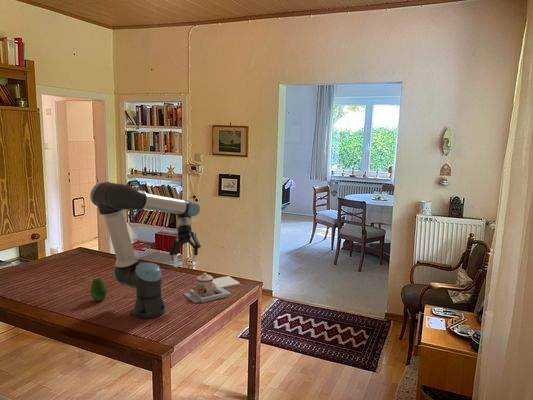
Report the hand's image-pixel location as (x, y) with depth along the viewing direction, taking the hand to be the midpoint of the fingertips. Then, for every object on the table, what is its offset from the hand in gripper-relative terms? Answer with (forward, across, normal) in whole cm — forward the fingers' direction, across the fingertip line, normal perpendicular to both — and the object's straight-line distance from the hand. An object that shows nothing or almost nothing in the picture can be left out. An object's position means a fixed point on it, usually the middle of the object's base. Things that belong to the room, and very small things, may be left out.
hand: (184, 264), depth 213 cm
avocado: (+14, +40, +21) cm, 47 cm away
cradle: (+15, -3, -15) cm, 22 cm away
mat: (+6, -1, -33) cm, 33 cm away
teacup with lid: (+14, -2, -16) cm, 22 cm away
